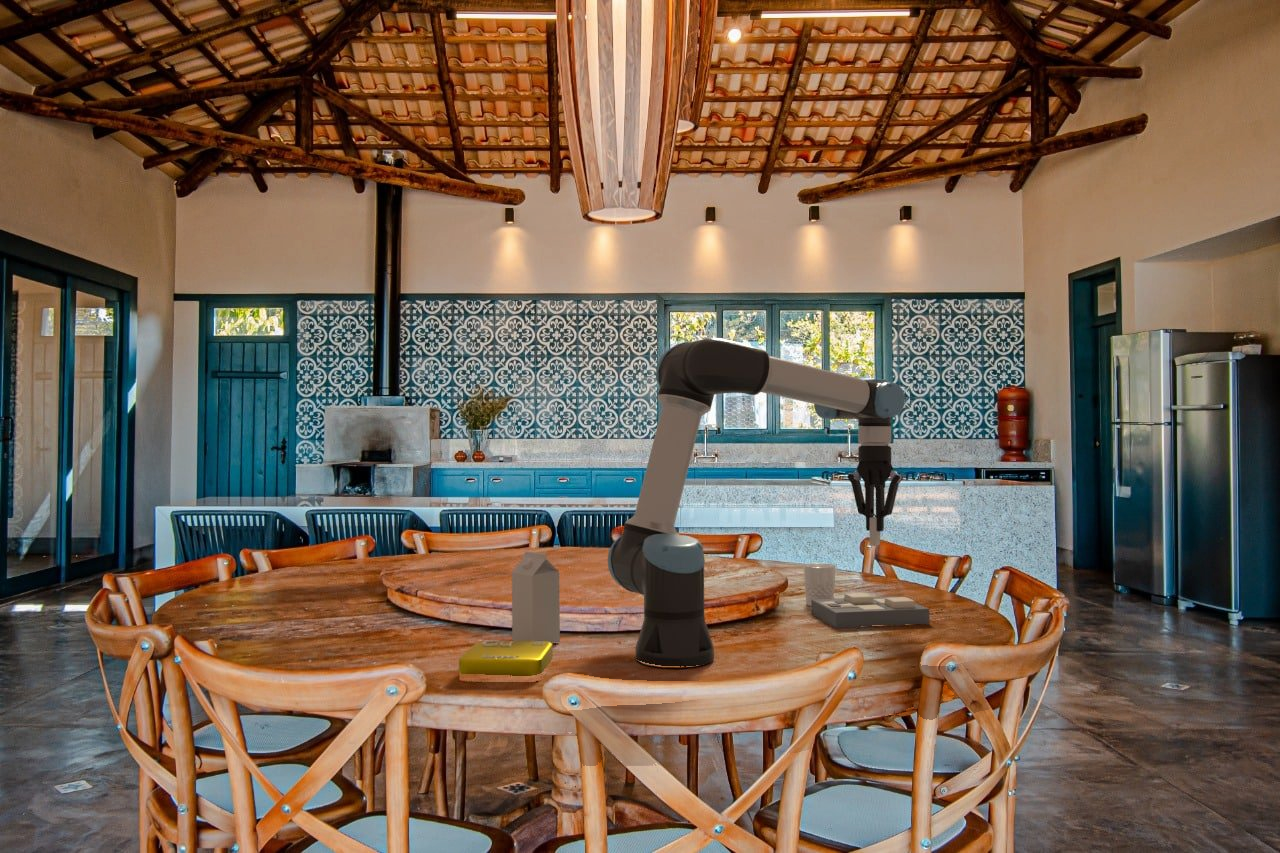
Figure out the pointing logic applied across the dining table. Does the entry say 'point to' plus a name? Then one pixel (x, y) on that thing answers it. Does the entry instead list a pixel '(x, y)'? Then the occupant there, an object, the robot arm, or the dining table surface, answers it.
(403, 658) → the dining table surface
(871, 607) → the button
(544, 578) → the milk carton
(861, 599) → the button
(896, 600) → the button
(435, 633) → the dining table surface
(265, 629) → the dining table surface
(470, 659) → the element tile
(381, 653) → the dining table surface
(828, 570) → the white cup
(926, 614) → the board
